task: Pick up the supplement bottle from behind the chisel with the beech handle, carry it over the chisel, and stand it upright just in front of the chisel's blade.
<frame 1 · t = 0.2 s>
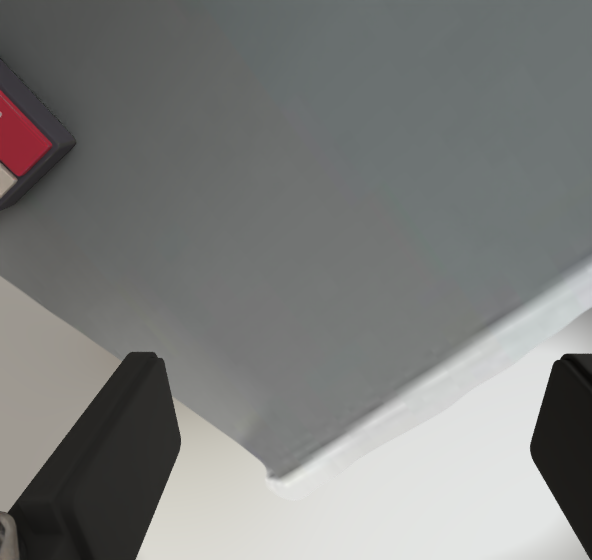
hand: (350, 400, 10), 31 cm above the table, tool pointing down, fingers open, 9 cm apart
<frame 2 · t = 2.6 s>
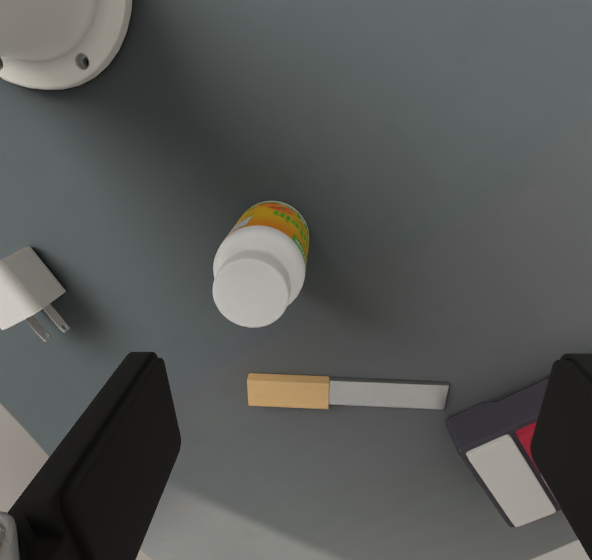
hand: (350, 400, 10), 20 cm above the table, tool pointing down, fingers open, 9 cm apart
supplement bottle: (273, 234, 29), on the table
calculator: (549, 424, 35), on the table
chisel: (345, 389, 34), on the table
usb wall charger: (46, 288, 32), on the table
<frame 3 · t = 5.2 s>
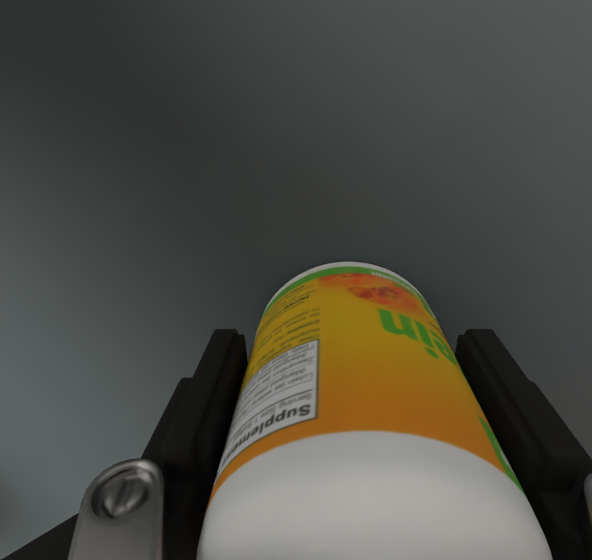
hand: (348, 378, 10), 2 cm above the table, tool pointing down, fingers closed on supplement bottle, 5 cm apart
supplement bottle: (344, 333, 12), on the table, touching gripper
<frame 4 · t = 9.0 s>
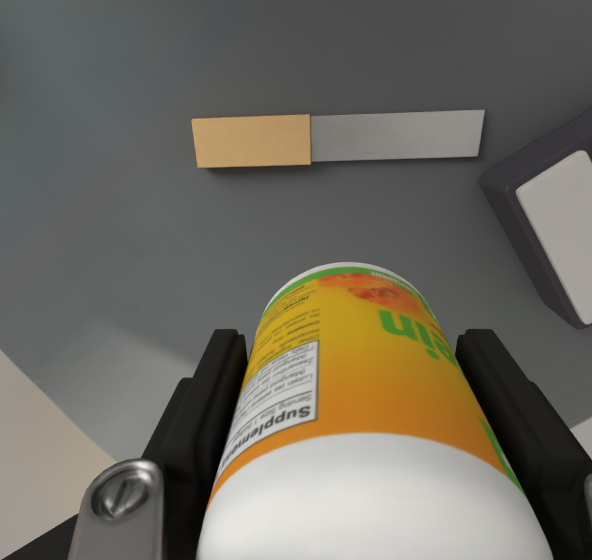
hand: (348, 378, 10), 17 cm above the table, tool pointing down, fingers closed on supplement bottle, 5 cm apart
supplement bottle: (344, 334, 12), point 15 cm above the table, touching gripper
chisel: (335, 137, 24), on the table
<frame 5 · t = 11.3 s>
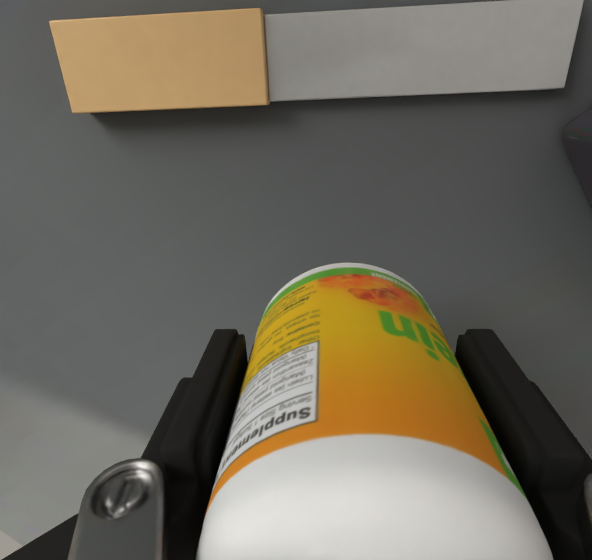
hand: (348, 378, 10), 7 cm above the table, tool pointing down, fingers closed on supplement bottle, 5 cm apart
supplement bottle: (344, 334, 12), point 5 cm above the table, touching gripper
chisel: (310, 58, 14), on the table
when the fingers open (2 cm above the table, at t = 13.0 s): supplement bottle stays where it is, on the table.
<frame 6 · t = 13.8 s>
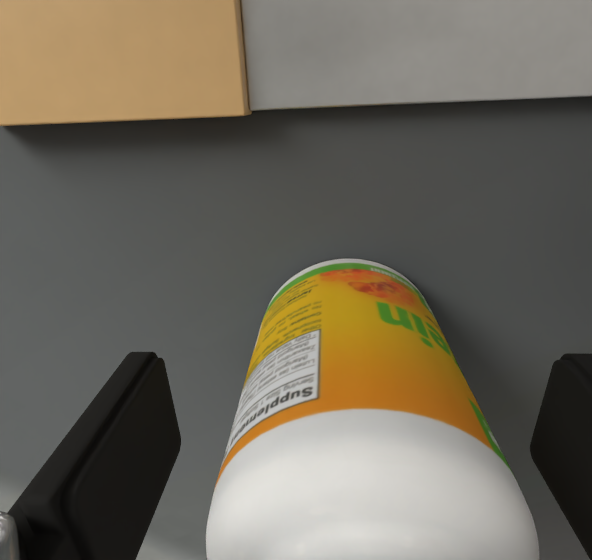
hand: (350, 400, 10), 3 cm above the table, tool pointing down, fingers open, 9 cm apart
supplement bottle: (345, 328, 13), on the table
chisel: (309, 49, 9), on the table
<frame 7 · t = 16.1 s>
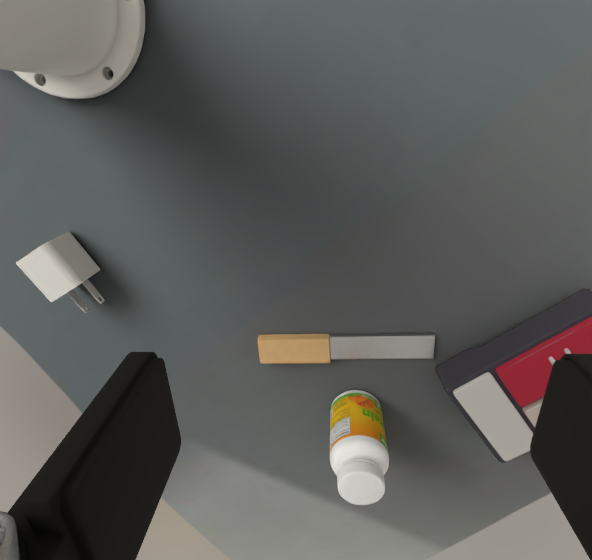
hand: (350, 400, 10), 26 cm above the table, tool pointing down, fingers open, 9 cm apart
supplement bottle: (355, 407, 42), on the table
calculator: (531, 367, 38), on the table
chisel: (344, 345, 39), on the table
usb wall charger: (83, 268, 38), on the table
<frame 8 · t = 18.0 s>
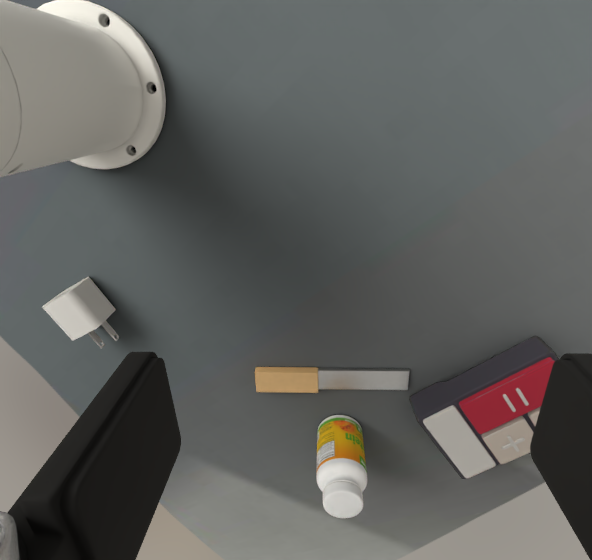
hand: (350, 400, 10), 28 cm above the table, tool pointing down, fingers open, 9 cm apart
supplement bottle: (339, 428, 48), on the table
calculator: (490, 398, 45), on the table
chisel: (331, 377, 45), on the table
usb wall charger: (99, 307, 43), on the table
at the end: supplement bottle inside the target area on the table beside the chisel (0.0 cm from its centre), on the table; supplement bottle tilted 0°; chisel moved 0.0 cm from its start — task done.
